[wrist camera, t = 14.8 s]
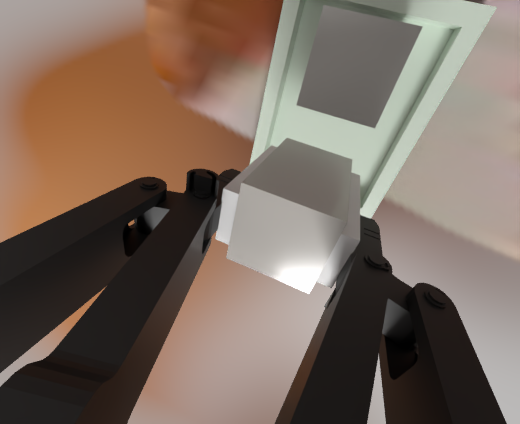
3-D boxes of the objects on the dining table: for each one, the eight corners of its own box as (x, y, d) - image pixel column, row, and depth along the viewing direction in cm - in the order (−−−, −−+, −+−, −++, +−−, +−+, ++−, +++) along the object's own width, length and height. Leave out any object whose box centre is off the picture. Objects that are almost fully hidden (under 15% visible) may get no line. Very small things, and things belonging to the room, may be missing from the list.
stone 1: (270, 193, 17) (226, 257, 11) (286, 137, 15) (241, 182, 9) (326, 214, 16) (309, 293, 11) (352, 159, 14) (347, 222, 8)
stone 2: (317, 92, 18) (296, 105, 13) (337, 26, 16) (323, 5, 10) (371, 107, 17) (374, 128, 12) (400, 40, 15) (422, 26, 10)
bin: (299, -25, 16) (291, -36, 14) (480, 14, 14) (496, 7, 12) (255, 168, 24) (246, 177, 22) (367, 209, 22) (368, 222, 20)
